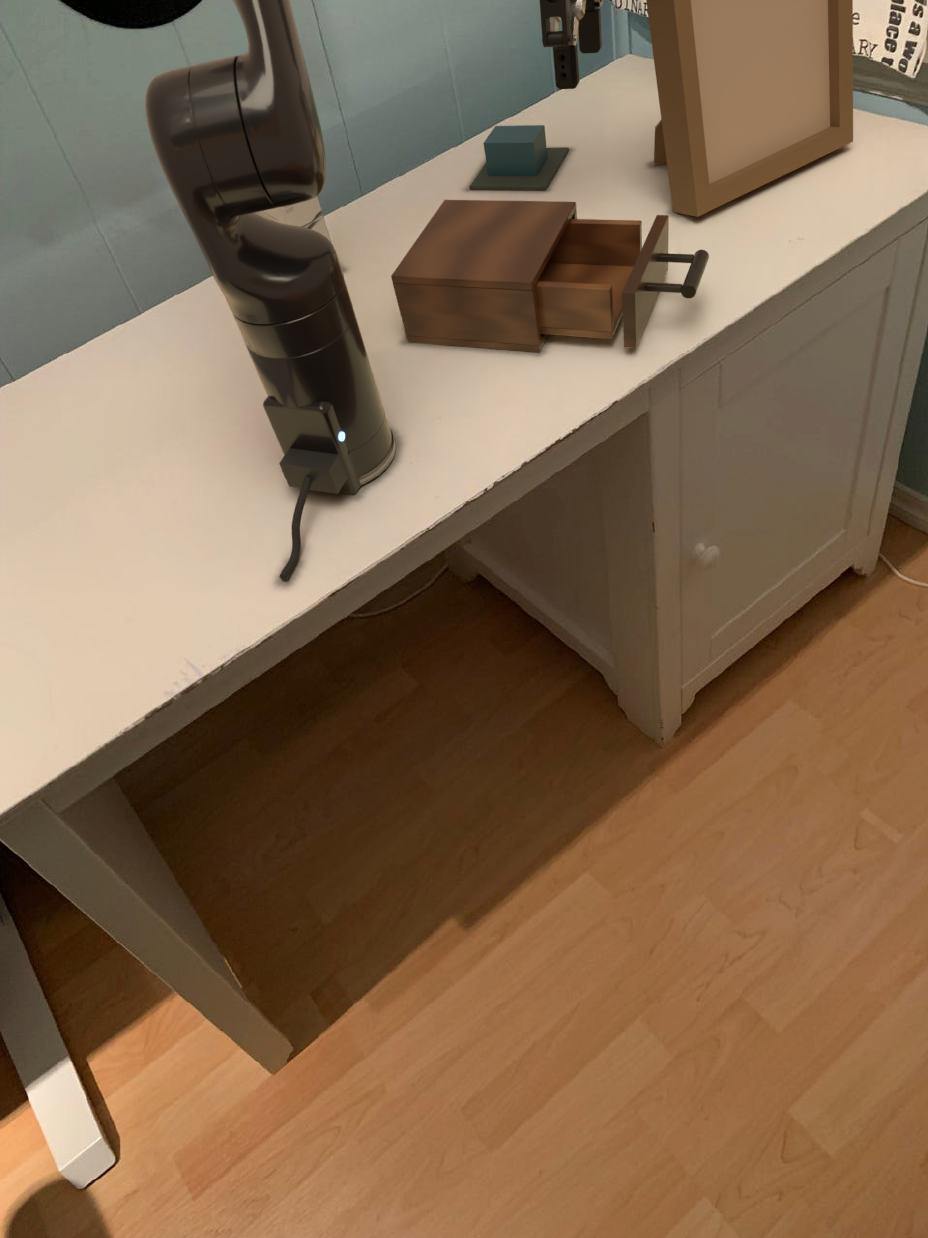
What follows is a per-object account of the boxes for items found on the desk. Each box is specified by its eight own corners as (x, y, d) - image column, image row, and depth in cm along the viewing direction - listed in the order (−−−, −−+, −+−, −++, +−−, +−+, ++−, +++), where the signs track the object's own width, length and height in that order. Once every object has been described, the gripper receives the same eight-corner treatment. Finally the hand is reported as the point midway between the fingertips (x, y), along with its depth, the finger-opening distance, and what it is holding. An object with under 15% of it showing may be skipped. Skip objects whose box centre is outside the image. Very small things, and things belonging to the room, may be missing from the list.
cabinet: (581, 270, 94) (576, 201, 89) (540, 352, 87) (531, 282, 81) (457, 264, 99) (444, 199, 94) (407, 342, 92) (390, 275, 86)
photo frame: (851, 150, 100) (897, -128, 81) (697, 225, 96) (707, -49, 77) (762, 113, 109) (784, -145, 90) (617, 180, 105) (608, -75, 86)
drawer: (714, 271, 88) (717, 215, 84) (686, 351, 81) (687, 295, 77) (543, 264, 95) (537, 212, 90) (503, 338, 88) (494, 285, 83)
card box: (536, 175, 108) (533, 142, 105) (488, 175, 111) (483, 142, 107) (547, 157, 111) (544, 124, 108) (499, 157, 113) (495, 125, 110)
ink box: (343, 270, 103) (312, 169, 94) (308, 290, 102) (274, 189, 92) (305, 248, 108) (272, 150, 99) (271, 267, 106) (235, 169, 97)
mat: (545, 190, 107) (545, 186, 106) (469, 189, 110) (469, 186, 110) (569, 150, 112) (568, 147, 112) (496, 150, 115) (495, 147, 115)
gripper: (587, -117, 71) (597, 99, 83) (629, -166, 78) (633, 38, 91) (500, -106, 73) (523, 101, 86) (549, -155, 81) (563, 42, 93)
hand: (579, 68), depth 88 cm, fingers open, 8 cm apart
